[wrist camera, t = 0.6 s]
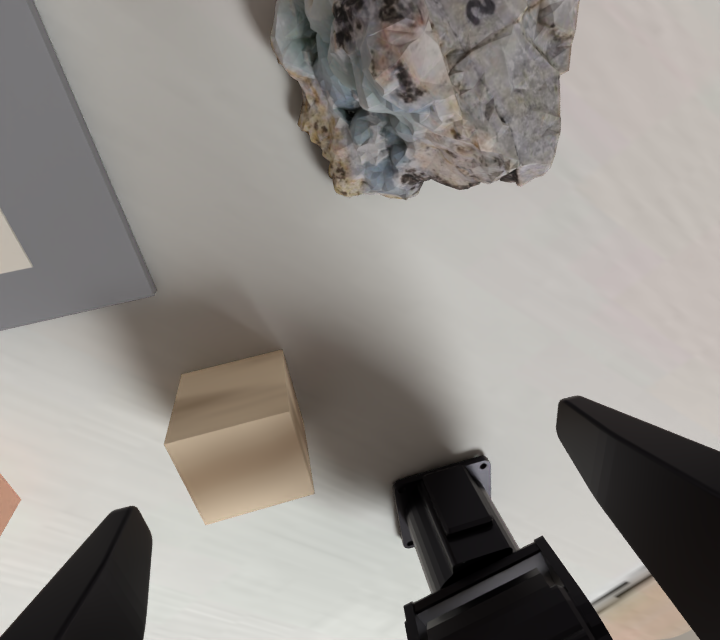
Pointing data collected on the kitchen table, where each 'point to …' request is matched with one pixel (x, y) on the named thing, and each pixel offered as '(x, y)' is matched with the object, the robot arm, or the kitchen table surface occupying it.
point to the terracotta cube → (7, 503)
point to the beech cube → (239, 437)
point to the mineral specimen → (428, 88)
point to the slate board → (54, 191)
